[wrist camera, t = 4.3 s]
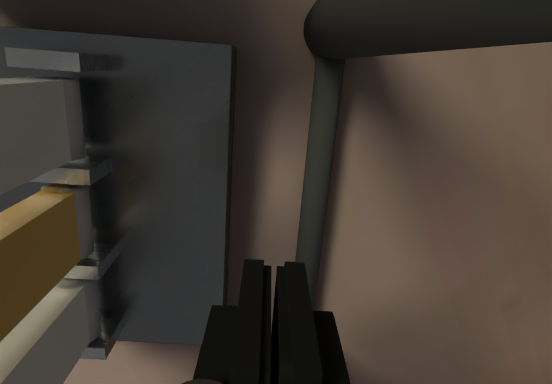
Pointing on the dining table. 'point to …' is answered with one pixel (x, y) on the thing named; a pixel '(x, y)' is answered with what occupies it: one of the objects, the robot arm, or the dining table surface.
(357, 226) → the dining table surface
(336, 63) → the dark grey u frame
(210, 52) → the panel
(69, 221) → the lever mid
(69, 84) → the lever near
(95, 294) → the lever far
